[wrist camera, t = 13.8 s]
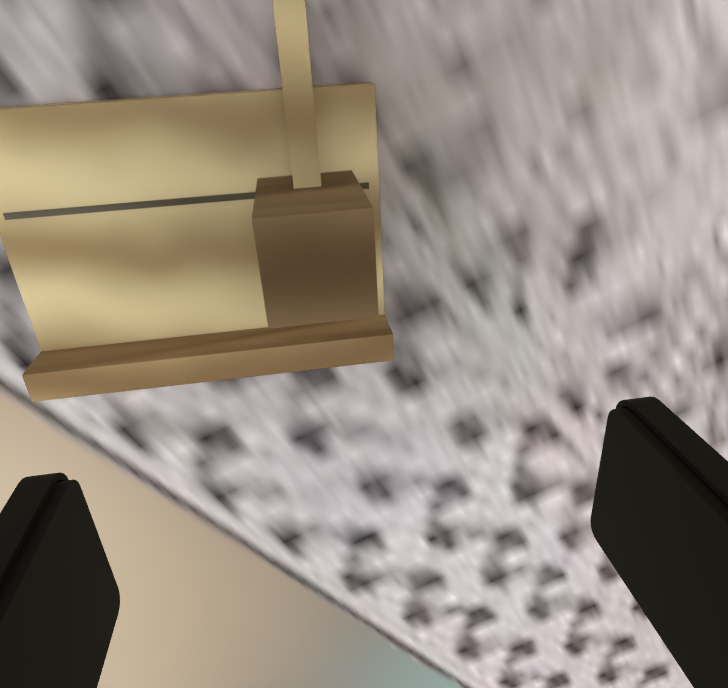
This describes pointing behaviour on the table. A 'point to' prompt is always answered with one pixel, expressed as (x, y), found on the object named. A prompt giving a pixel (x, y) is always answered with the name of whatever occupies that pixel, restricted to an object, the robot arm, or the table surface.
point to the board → (168, 237)
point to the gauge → (311, 210)
